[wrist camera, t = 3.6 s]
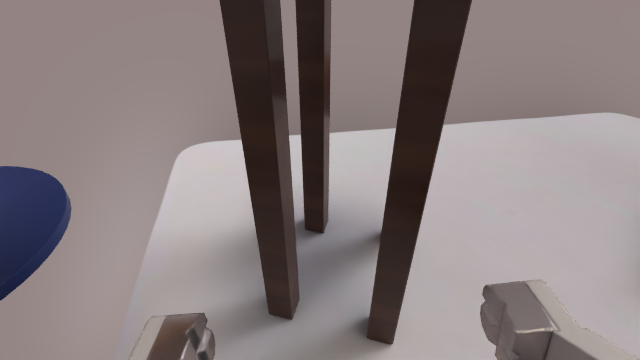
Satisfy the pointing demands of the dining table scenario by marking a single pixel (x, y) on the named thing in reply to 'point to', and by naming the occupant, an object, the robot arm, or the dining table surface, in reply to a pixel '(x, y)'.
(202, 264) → the dining table surface
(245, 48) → the stand
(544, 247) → the dining table surface
